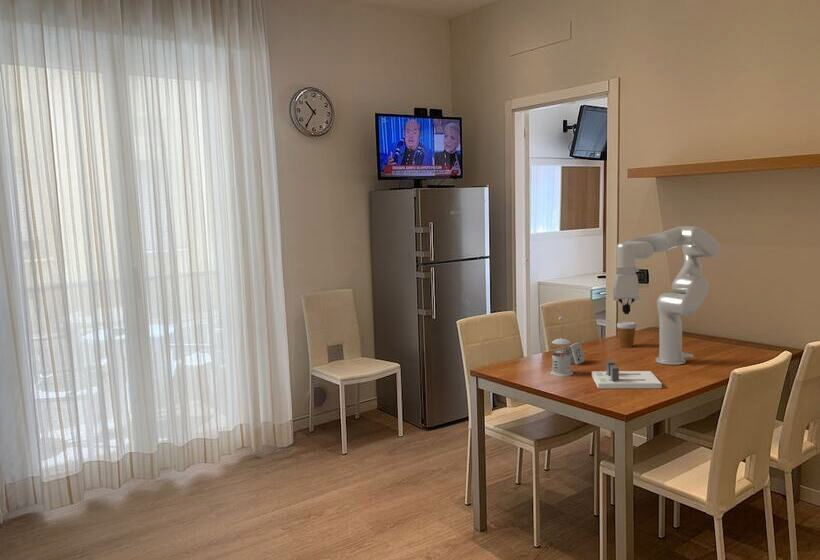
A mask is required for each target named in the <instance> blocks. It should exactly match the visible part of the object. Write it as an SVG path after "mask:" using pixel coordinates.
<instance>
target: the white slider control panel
mask: <svg viewBox="0 0 820 560" xmlns="http://www.w3.org/2000/svg"><path fill="white" fill-rule="evenodd" d="M610 365H615V362H614V359H606V371H605V370H604V371H601V370H599V371H598V370H597V371H596V370H595V371H591V377H592V380H593V381H594V384H595V385H596V387H597V389H662V388H663V387H662V385H663V384H662V382H661V381H660V380H659V379H658V377H657V376H656V375H655V374H654V373H653V371H651V370H636V371H635V370H632V371H631V370H629V371H628V370H626V371H625V370H624V371H623V370H619V381H612V379H611V378H610Z"/></svg>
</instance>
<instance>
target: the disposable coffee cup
mask: <svg viewBox="0 0 820 560" xmlns="http://www.w3.org/2000/svg"><path fill="white" fill-rule="evenodd" d="M616 327H617V331H618V333H617V334H618V340H619V347H621V346H623V347H622V348H626V347H629V348H633V347H634V343H635V334H636V327H637V323H636V322H634V321H619V322H617V324H616ZM632 346H633V347H632Z"/></svg>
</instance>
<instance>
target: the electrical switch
mask: <svg viewBox="0 0 820 560" xmlns="http://www.w3.org/2000/svg"><path fill="white" fill-rule="evenodd" d="M565 350H569V351H570V352H569V353H568V354H570V355H571V365H573V364H575V365H576V366H577V365H578V366H579V365H580V364H582V363H584V362H585V361H586V357H585V354H584V351H583V347H582V344H581V342H580V341H576V342H575V343H573V344H569V346H567V347H565Z"/></svg>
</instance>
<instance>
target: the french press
mask: <svg viewBox="0 0 820 560" xmlns="http://www.w3.org/2000/svg"><path fill="white" fill-rule="evenodd" d="M563 319H564V317H562V316H559V317H558V320H559V321H562V320H563ZM551 344H553V345H555V346H558V349H554V350H553V351H552V353H553V354H552V355H551V357H552V359H551V360H552V362H551V363H552V364H551V365H552V371H550V374H551V375H552V374H553V375H552V376H556V375H557V376H558V377H566V376H567V377H568V376H572V375H574V372H573V371H572V364H571V355H570V354H571V353H570V354H568V353H569V352H570V351H569V350H566V349H564V346H568V345H569V346H570V345H571V341H570V340H568V339H566V338H562V337H560V338H557V339H554V340H553V341H551Z"/></svg>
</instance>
